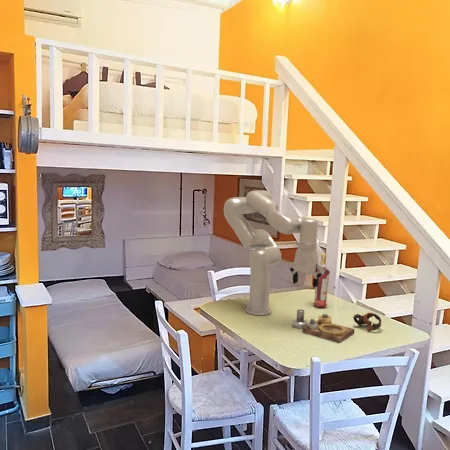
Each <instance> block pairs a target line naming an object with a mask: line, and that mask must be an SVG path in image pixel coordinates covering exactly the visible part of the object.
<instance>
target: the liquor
mask: <svg viewBox="0 0 450 450" xmlns="http://www.w3.org/2000/svg"><path fill="white" fill-rule="evenodd" d="M326 259H327V253H326V252H321V253H320V263H319V266H321V267H322V268H323V269H325V271H324V273H323V275H322V276H321V277H320V278H319V279H318V286H317V287H315V288H314V302H313V305H314V306H315V308H318V309H324V308H326V307H327V306H328V304H327V298H328V291H329V281H330V274H331V273H330V272H331V271H330V270H329V269H328V268H326V267H327V265H326V264H327V263H326ZM317 273H318V274H319V273H320V270H319V269H318V272H317Z"/></svg>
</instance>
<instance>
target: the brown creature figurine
mask: <svg viewBox="0 0 450 450" xmlns="http://www.w3.org/2000/svg"><path fill="white" fill-rule="evenodd" d="M372 317H373V318H375V319H376V320H377V321H378V322H377V323H373V321H371V320H369V319H370V318H372ZM352 318H353V321H354V323H356V324H357V325H358V326H359V327H361V326H363V325H366V326H367V329H366V331H367V333H371V332H372V331H375V330H379V329H380V328H381V326H382V318H381V317H380V316H379V315H378V314H376V313H375V312H366V313H365V314H363V315H361V314H360V313H356V314H354V315H353V317H352Z"/></svg>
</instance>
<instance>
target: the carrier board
mask: <svg viewBox="0 0 450 450" xmlns="http://www.w3.org/2000/svg"><path fill="white" fill-rule="evenodd" d="M332 318H333V317H332V316H329V314H326V313H322V315H321V314H320V315H319V316H318V319H317V320H316V319H314V318H310V320H309V321H307V326H305V327H303V329H301V330H302V331H301V333H302V334H306V335H311V336H312V337H313V336H314V337H317V338H320V339H323V340H327V341H332V342H335V343H338V344H341V343H342V342H344V341H346V340H347V339H348V338H350V337H351V336H353V335H354V334H355V328H351V327H349V326H348V327H347V326H344V325H340V324H336V323H332Z"/></svg>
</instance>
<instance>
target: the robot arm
mask: <svg viewBox="0 0 450 450" xmlns="http://www.w3.org/2000/svg"><path fill="white" fill-rule="evenodd" d="M223 205H224V206H223V215H224V218H225V220H226V222H227V223H228V225H229V226H230V227H231V228H232V230H233V231H234V233H235V235H236V237H238V239H239V241H240V243H241V244H242V246H243V247H244V248H245V249H246V250H251V251H250V254H249V257H248V258H249V259H248V260H249V261H248V262H249V267H250V274H249V275H250V279H249V297H248V299H249V300H248V299H244V300H243V302H242V304H243V305H245V306H246V307H245V312H246V313H247V314H249V315H254V316H267V315H271V313H272V309H271V308H270V307H269V305H270V304H269V303H270V302H269V301H270V287H271V285H270V284H271V275H270V270H269V267H271V266H276V265H278V264H279V263H280V262H281V260H282V252H281V250H280V248H279V246H278V245H277V243H276V242H275V240H274V239H273V238H272V236H271V235H270V233H269V232H268V231H266V230H265V229H263V228H261V229H260V228H258V229H257V228H256V229H255V228H253V226H252V225H251V224H250V222H249V221H248V220H247V218H245V217H244V216H243V214H244V215H245V214H252V213H256V212H257V213H259V214H260V215H262V216H263V217H264V218H265V219H266V221H267V223H268V225H270V227H272V228H273V229H275V230H276V231H277V232H279V233H281V234H283V235H293V234H299V236H298V237H299V239H298V242H296V246H297V249H296V251H295V256H294V261H291V262H289V263H288V267H289V271H290V272H291V274H292V283H293V284H294V285H295V284H298V282H299V274H298V273H302V274H306V275H307V274H308V275H312V277H313V279H312V288H313V289H315V287H317V286H318V279H319V278H320V277H321V276H322V275H323V273H324V271H325V269H323V268H322V267H321V266H320V264H319V255H318V254H319V253H318V250H317V244H318V243H317V240H318V238H317V237H318V228H319V227H318V224H319V223H318V220H317V219H315V218H306V217H302V216H287V217H286V216H285V215H283V214H282V213H280V212H279V204H278V202H276V201H274V198H273V195H272V193H271V192H270V191H268V190H262V189H261V190H257V189H255V190H251V191H249V192H248V193H247V194H246V196H240V197H239V196H236V197H230V198H228V199H227V200H226V201H225V202H224V204H223ZM318 269H319V270H320V273H319V274H318V273H317V272H318Z"/></svg>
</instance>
